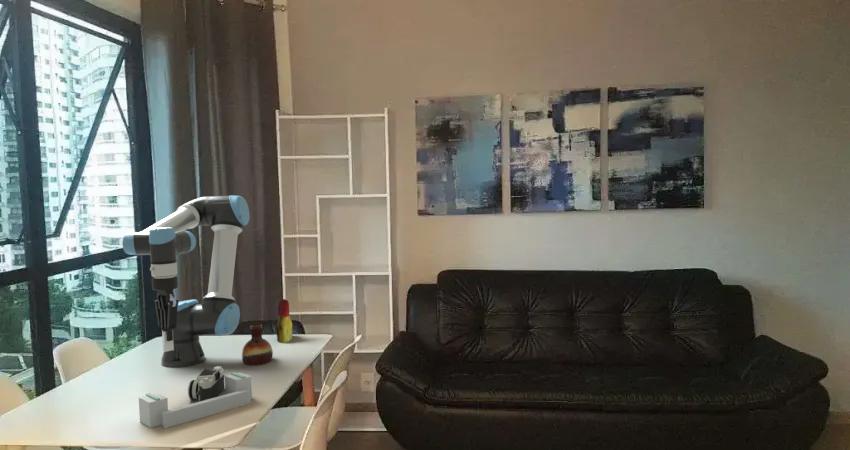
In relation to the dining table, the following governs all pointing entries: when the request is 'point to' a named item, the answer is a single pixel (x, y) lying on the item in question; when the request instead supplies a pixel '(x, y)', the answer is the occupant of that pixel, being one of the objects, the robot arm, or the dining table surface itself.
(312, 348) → the dining table surface
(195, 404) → the rail mount
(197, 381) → the camera
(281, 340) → the bottle
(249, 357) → the vase
